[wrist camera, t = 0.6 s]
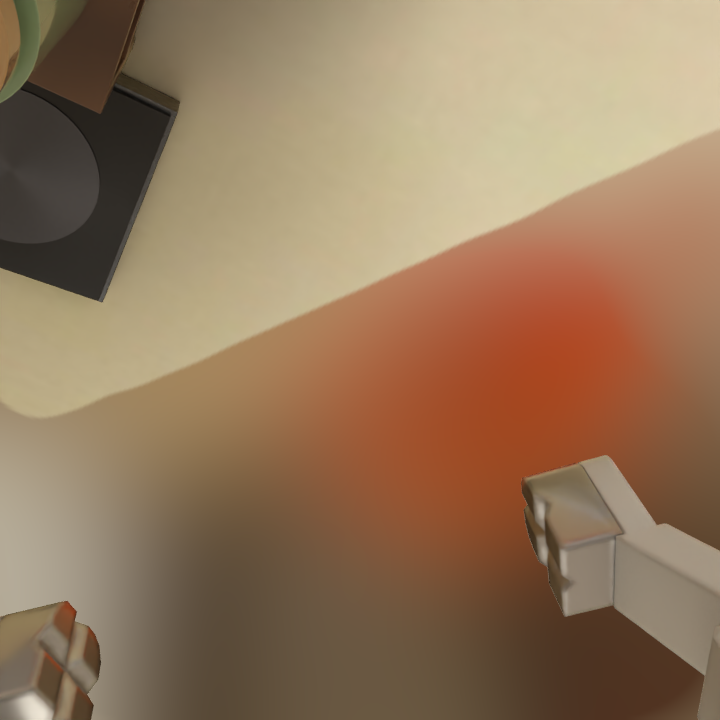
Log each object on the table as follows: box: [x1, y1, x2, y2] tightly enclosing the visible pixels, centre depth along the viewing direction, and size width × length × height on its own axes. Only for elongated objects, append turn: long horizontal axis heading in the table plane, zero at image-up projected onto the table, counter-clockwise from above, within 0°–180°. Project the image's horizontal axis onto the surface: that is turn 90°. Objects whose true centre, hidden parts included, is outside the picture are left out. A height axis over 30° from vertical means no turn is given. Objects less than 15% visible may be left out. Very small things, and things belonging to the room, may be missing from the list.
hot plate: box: [0, 73, 180, 302], centre depth 41 cm, size 15×15×3 cm
